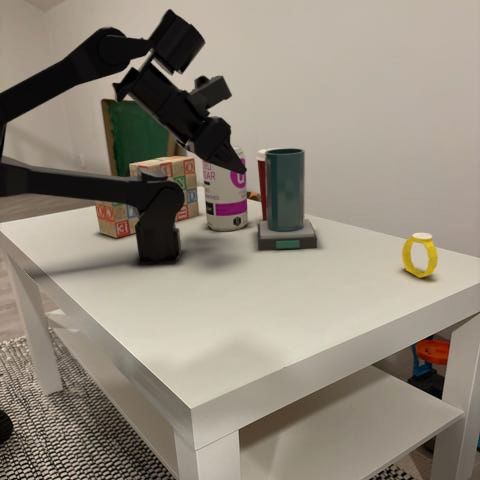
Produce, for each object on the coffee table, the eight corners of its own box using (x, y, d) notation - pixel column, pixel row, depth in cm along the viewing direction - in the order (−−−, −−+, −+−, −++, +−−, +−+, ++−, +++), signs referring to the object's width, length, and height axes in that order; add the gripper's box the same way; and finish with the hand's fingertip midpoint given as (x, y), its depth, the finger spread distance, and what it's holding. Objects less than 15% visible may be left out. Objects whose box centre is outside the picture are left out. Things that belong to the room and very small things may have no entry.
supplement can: (255, 222, 104) (252, 145, 97) (233, 233, 98) (228, 152, 91) (222, 218, 108) (217, 144, 101) (199, 229, 102) (192, 150, 95)
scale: (258, 251, 88) (258, 237, 87) (257, 233, 97) (257, 220, 96) (317, 248, 87) (317, 234, 86) (310, 231, 97) (310, 218, 96)
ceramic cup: (291, 234, 87) (290, 155, 81) (259, 228, 91) (257, 153, 85) (311, 224, 92) (312, 149, 86) (280, 220, 95) (279, 147, 90)
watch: (396, 269, 77) (399, 231, 74) (411, 266, 78) (415, 228, 75) (423, 282, 72) (428, 242, 69) (439, 279, 73) (444, 239, 70)
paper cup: (293, 228, 99) (293, 153, 93) (255, 227, 100) (252, 154, 94) (297, 217, 106) (298, 146, 100) (261, 217, 107) (259, 147, 101)
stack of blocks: (117, 239, 98) (106, 173, 93) (99, 233, 102) (88, 170, 97) (200, 214, 112) (194, 156, 106) (181, 210, 116) (175, 154, 110)
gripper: (211, 53, 68) (289, 134, 75) (184, 58, 84) (250, 124, 91) (159, 121, 69) (241, 193, 77) (142, 113, 85) (211, 173, 93)
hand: (236, 168), depth 84 cm, fingers open, 9 cm apart
